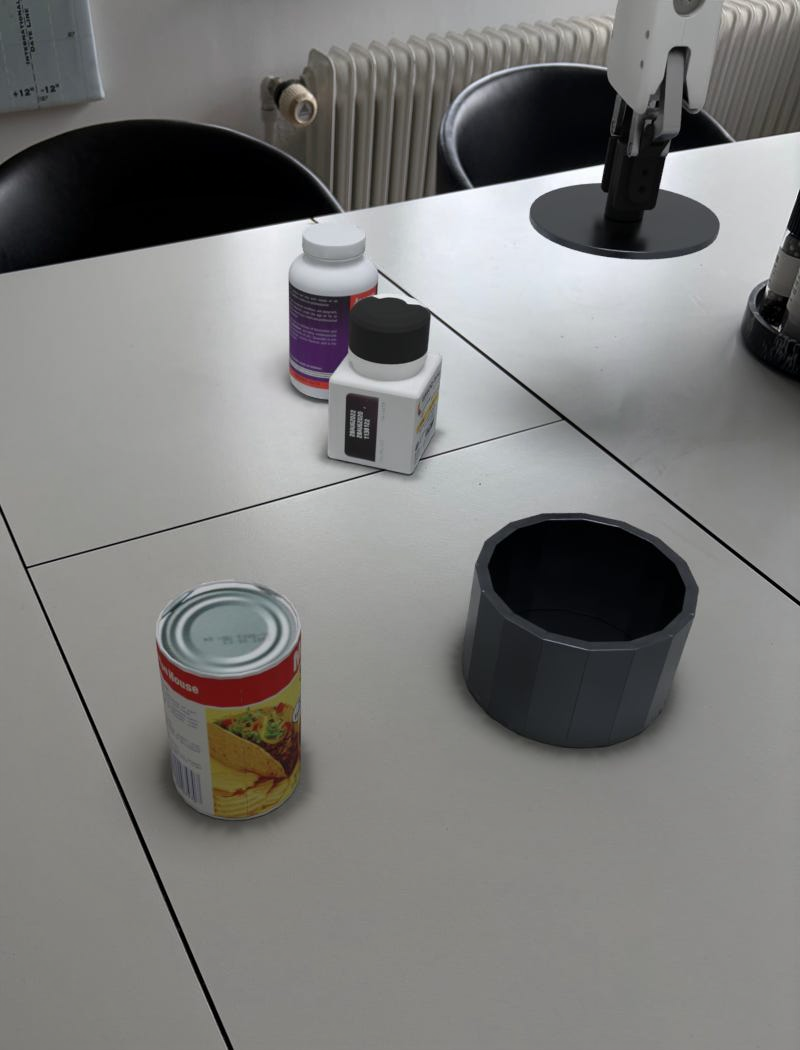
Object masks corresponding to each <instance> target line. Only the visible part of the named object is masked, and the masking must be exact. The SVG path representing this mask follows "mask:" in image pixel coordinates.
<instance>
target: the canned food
mask: <svg viewBox="0 0 800 1050" xmlns="http://www.w3.org/2000/svg"><path fill="white" fill-rule="evenodd" d="M154 629H155V631H154V638H155V645H156V653H157V654H156V655H157V661H158V662H157V663H158V668H159V676H160V677H159V678H160V686H161V693H162V700H163V710H164V716H165V723H166V725H165V726H166V731H167V740H168V747H169V748H168V749H169V756H170V764H171V770H172V779H173V783H174V785H175V788H176V791H177V793H178V794H179V796H181V798H182V800H183V801H184V802H185V803H186V804H188V806H190V807H191V808H192V809H194V810H196V812H198V813H201V814H203V815H205V816H208V817H211V818H213V819H219V820H227V821H241V820H250V819H253V818H257V817H261V816H264V815H266V814H268V813H270V812H271V811H274V810H276V809H277V808H279V807H280V806H281V805H283V804H284V803H285V802H286V801H287V800H288V799H289V798H291V795H292V794H293V793H294V792H295V789H296V788H297V786H298V784H299V780H300V777H301V772H302V625H301V616H300V613H299V612H298V610H297V608H296V606H295V605H294V603H293V602H292V601H291V600H290V599H289V598H288V597H286V596H285V595H284V594H283V593H282V592H280V591H278V590H276V589H275V588H273V587H271V586H270V585H265V584H262V583H259V582H256V581H254V580H253V581H252V580H246V579H245V580H244V579H237V578H235V579H217V580H212V581H208V582H203V583H199V584H196V585H193V586H192V587H189V588H186V589H185V590H183V591H181V592H180V593H178V594H176V595H175V596H174V597H172V598H171V599H170V600H169V601H168V602H167V603H166V604H165V606H164V607H163V608H161V610H160V612H159V615H158V616H157V619H156V621H155V628H154Z"/></svg>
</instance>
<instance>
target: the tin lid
mask: <svg viewBox="0 0 800 1050" xmlns="http://www.w3.org/2000/svg"><path fill="white" fill-rule="evenodd" d="M628 142H629V135H627V136H622V137H620V138H619V139H618V141H617V146H616V152H615V157H614V163H613V168H612V174H611V179H610V185H609V190H608V193H605V192H603V190H602V189H601V182H591V183H579V184H572V185H568V186H561V187H558V188H556V189H552V190H550V191H547V192H545V193H543V194H541V195H539V196H538V197H537V198H535V200H533V202H532V203H531V205H530V207H529V213H528V220H529V223H530V225H531V227H532V228H533V229H534V231H536V232H537V233H538V234H539V235H540V236H542V237H543V238H545V239H546V240H548V241H550V242H552V243H554V244H557V245H559V246H561V247H564V248H567V249H570V250H573V251H576V252H579V253H582V254H583V253H584V254H587V255H592V256H598V257H604V258H611V259H620V260H631V261H632V260H633V261H634V260H635V261H636V260H637V261H644V260H645V261H648V260H649V261H653V260H665V259H674V258H679V257H685V256H688V255H692V254H696V253H698V252H700V251H702V250H704V249H706V248H708V247H710V246H711V245H712V244H713V243H714V242H715V241H716V240H717V238H718V235H719V232H720V230H721V229H720V228H721V227H720V226H721V223H720V220H719V217H718V216H717V215H716V213H715V212H714V211H713V210H711V208H709V207H708V206H706V205H705V204H703V203H701V202H700V201H698V200H696V199H694V198H692V197H689V196H686V195H683V194H680V193H677V192H675V191H671V190H667V189H662V188H659V193H658V197H657V202H656V206H655V208H654V209H652V210H629V211H617V210H615V208H614V207H613V198H614V193H615V188H616V182H617V177H618V171H619V166H620V161H621V155H622V153H627V148H628Z"/></svg>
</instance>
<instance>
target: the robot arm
mask: <svg viewBox="0 0 800 1050" xmlns="http://www.w3.org/2000/svg"><path fill="white" fill-rule="evenodd" d="M724 1H725V0H617V4H616V9H615V13H614V19H613V24H612V25H613V26H612V30H611V37H610V41H609V50H608V57H607V65H606V66H607V68H606V74H607V80H608V82H609V83H610V86H611V87H612V88H613V89H614V90H615V91H616V96H615V99H614V108H613V112H612V117H611V122H610V128H609V129H610V130H609V131H610V136H609V137H608V141H607V142H608V143H607V148H606V154H605V160H604V165H603V171H602V176H601V182H600V183H601V189H602V190H603V192H605V193H608V190H609V185H610V179H611V174H612V168H613V163H614V157H615V152H616V146H617V141H618V139H619V138H620V137H622V136H627V135H629V142H628V148H627V153H622V155H621V161H620V166H619V171H618V177H617V182H616V188H615V193H614V198H613V207H614V208H615V210H617V211H629V210H652V209H654V208H655V206H656V202H657V197H658V193H659V189H661V183H662V177H663V173H664V170H665V164H666V159H667V157H668V155H669V152H670V147H671V143H672V139H674V138H675V137H677V136H678V135H679V134H680V130H681V122H682V108H683V109H684V110H685V111H686V112H687V113H688V114H691V115H692V114H693V115H695V114H698V113H699V112H700V111H701V110H702V109H703V107H704V106H705V103H706V100H707V95H708V90H709V86H710V85H709V84H710V80H711V75H712V68H713V64H714V59H715V53H716V48H717V42H718V37H719V32H720V25H721V20H722V14H723V9H724V8H723V6H724ZM657 101H658V107H656V103H657ZM653 120H654V122H653V123H652V121H653Z"/></svg>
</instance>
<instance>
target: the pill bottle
mask: <svg viewBox="0 0 800 1050" xmlns="http://www.w3.org/2000/svg"><path fill="white" fill-rule="evenodd" d="M301 235H302V236H301V240H302V241H301V248H302V253H300V254H299V255H298V256H296V257H295V258H294V259H293V260H292V262H291V264H290V266H289V269H288V371H289V379H290V382H291V383H292V385H293V386H294V388H296V390H298V391H299V392H300V393H302V394H304V395H306V396H308V397H311V398H315V399H318V400H319V399H320V400H328V401H329V379H330V377H331V376H332V374H333V373H334V372H335V370H336V369H337V368H338V366H339V365H340V364H341V362H342V361H343V360H344V358H345V357H346V356H347V354H348V346H349V316H350V310H351V308H352V307H353V306H354V305H355V304H356V303H357V302H358V301H359V300H361V299H363V298H366V297H369V296H373V295H378V290H379V289H378V288H379V269H378V267H377V265H376V263H375V261H374V260H373V259H372V258H371V257H370V256H368V255H367V254H365V253H366V239H367V238H366V237H367V236H366V235H367V234H366V232H365V230H364V229H363V228H362V227H359V226H358V225H355V224H352V223H347V222H342V221H341V222H340V221H325V222H323V221H322V222H317V223H314V224H310V225H308V226H307V227H306V228H304V230H302V234H301Z"/></svg>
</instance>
